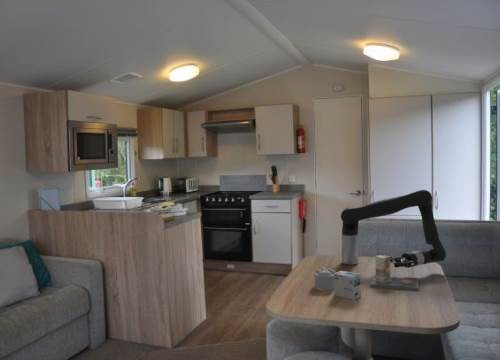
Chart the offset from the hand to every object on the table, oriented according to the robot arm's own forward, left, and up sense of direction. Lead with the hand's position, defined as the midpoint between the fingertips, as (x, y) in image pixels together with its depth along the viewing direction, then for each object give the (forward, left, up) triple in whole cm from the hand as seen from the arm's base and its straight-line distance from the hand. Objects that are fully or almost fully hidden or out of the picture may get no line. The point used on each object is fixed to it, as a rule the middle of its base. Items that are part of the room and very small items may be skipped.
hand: (388, 263), depth 217 cm
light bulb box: (-17, -27, -10) cm, 33 cm away
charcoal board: (+3, -3, -9) cm, 10 cm away
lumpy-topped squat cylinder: (-29, -15, -10) cm, 34 cm away
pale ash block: (-3, -3, -8) cm, 9 cm away
